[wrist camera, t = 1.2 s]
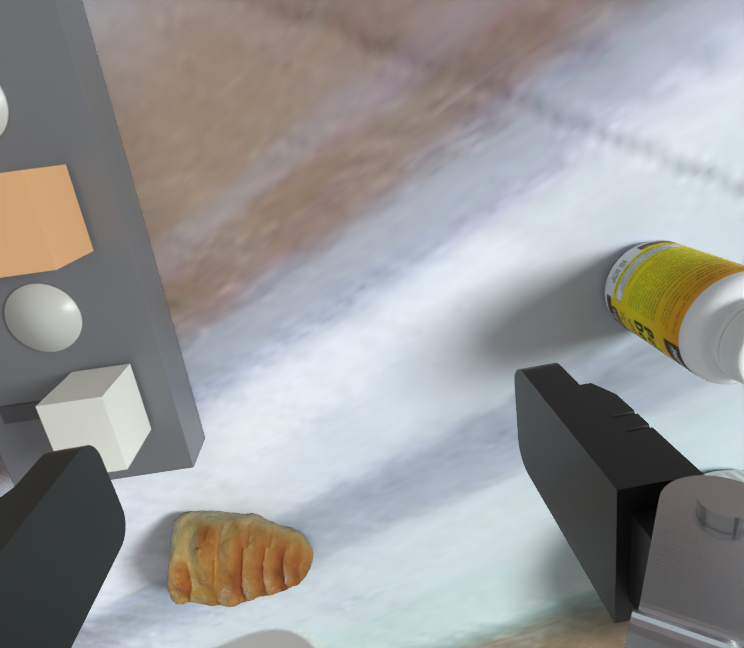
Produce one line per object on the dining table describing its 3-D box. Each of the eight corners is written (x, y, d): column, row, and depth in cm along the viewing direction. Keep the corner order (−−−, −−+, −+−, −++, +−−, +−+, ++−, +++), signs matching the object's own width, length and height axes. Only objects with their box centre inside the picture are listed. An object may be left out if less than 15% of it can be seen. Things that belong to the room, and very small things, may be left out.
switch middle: (-2, 173, 23) (-57, 180, 20) (65, 164, 23) (21, 170, 20) (30, 259, 25) (-17, 279, 21) (93, 250, 25) (56, 269, 21)
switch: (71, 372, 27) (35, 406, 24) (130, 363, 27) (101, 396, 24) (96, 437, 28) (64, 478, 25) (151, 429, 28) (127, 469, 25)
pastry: (315, 505, 35) (313, 547, 32) (312, 580, 38) (310, 627, 34) (173, 503, 34) (155, 547, 31) (178, 581, 37) (162, 629, 33)
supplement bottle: (582, 304, 31) (692, 380, 22) (636, 221, 30) (781, 264, 20) (652, 340, 33) (786, 428, 23) (708, 263, 31) (876, 322, 22)
